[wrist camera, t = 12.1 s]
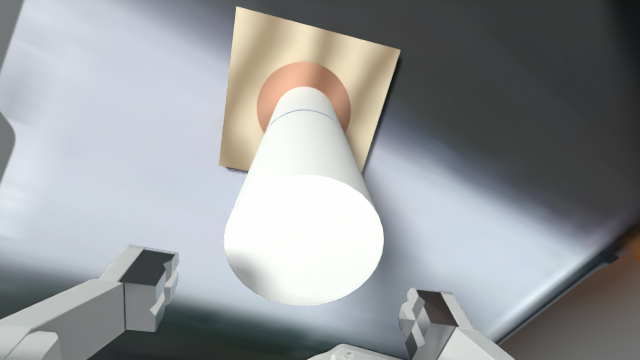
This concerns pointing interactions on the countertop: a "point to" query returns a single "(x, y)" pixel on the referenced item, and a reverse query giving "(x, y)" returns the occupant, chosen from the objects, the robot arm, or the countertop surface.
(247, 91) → the seat board
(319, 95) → the cylindrical container
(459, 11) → the countertop surface
